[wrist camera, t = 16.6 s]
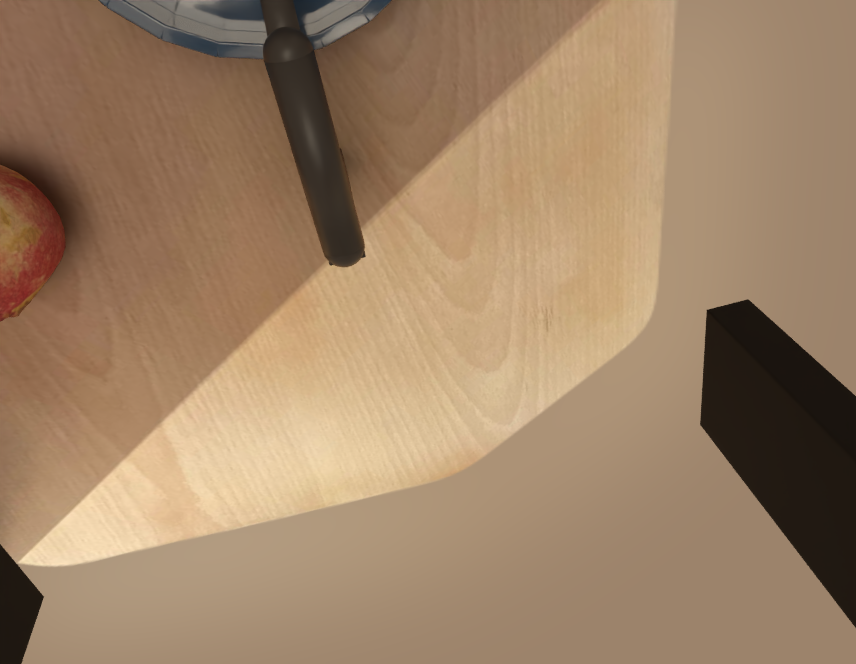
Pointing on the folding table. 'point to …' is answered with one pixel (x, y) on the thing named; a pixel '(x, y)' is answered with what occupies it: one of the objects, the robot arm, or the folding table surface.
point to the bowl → (241, 22)
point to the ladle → (311, 133)
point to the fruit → (25, 241)
